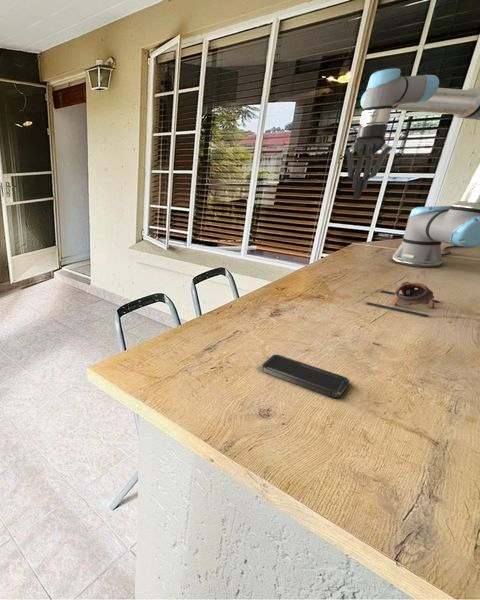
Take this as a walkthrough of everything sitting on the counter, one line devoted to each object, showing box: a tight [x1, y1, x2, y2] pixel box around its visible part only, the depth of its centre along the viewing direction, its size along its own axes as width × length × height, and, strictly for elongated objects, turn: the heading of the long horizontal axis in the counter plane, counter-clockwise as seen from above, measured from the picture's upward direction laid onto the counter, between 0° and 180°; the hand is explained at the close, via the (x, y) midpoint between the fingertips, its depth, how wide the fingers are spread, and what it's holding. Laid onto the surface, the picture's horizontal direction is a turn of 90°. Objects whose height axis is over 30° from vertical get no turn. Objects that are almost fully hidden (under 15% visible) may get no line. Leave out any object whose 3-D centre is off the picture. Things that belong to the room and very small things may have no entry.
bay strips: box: [366, 289, 440, 318], centre depth 109 cm, size 16×14×1 cm
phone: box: [261, 354, 350, 399], centre depth 76 cm, size 8×1×15 cm
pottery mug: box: [392, 281, 436, 309], centre depth 107 cm, size 12×10×8 cm
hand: (356, 198), depth 124 cm, fingers closed
